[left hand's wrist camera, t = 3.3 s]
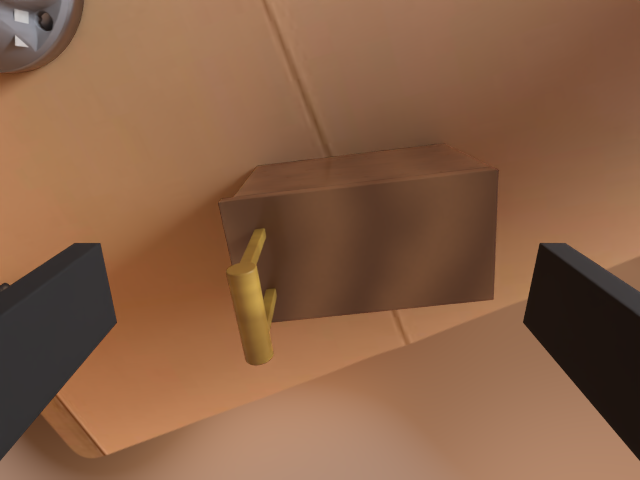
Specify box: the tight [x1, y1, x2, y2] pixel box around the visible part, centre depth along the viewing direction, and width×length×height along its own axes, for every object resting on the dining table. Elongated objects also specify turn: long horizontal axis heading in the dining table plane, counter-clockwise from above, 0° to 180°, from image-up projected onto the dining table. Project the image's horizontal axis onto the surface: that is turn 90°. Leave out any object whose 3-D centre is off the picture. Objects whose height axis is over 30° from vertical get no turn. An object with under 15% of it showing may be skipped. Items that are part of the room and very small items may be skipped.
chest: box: [234, 143, 492, 197], centre depth 34 cm, size 17×9×11 cm, turn 97°
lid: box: [218, 167, 498, 365], centre depth 25 cm, size 18×9×8 cm, turn 97°
